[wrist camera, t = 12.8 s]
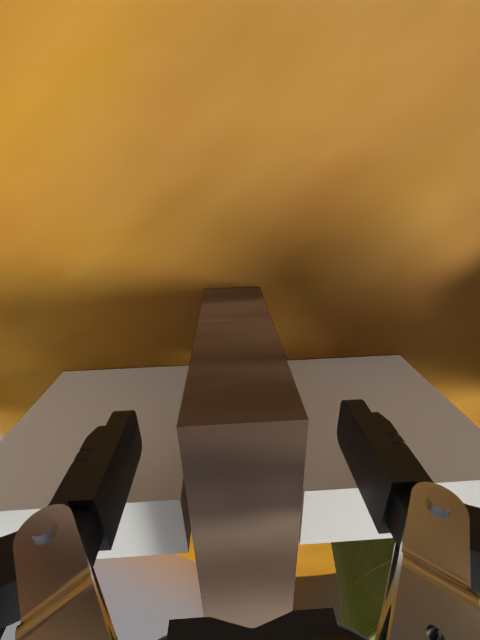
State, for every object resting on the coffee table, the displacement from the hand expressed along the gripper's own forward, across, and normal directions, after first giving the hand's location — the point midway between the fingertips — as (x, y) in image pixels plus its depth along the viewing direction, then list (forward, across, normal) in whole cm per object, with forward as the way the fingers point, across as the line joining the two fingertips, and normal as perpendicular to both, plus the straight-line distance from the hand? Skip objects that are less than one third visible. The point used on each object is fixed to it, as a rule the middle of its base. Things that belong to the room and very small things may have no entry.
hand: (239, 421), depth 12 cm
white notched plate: (+9, 0, +5) cm, 10 cm away
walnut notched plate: (+9, 0, +4) cm, 10 cm away
